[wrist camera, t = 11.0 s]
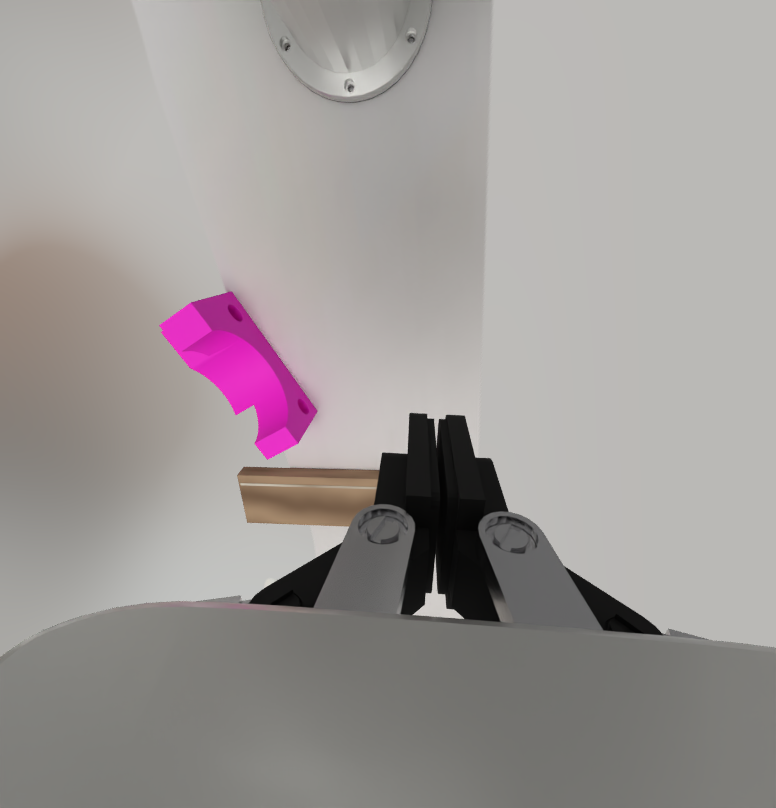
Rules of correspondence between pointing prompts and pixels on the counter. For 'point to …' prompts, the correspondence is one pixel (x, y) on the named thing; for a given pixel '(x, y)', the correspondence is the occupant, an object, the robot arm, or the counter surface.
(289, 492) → the plank
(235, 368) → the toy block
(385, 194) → the counter surface
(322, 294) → the counter surface
